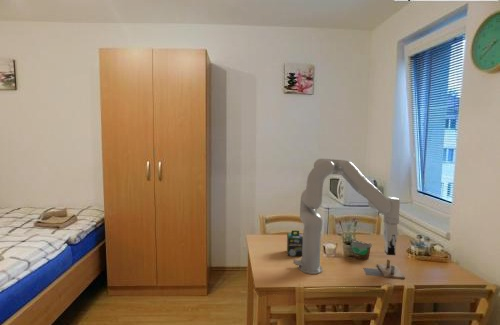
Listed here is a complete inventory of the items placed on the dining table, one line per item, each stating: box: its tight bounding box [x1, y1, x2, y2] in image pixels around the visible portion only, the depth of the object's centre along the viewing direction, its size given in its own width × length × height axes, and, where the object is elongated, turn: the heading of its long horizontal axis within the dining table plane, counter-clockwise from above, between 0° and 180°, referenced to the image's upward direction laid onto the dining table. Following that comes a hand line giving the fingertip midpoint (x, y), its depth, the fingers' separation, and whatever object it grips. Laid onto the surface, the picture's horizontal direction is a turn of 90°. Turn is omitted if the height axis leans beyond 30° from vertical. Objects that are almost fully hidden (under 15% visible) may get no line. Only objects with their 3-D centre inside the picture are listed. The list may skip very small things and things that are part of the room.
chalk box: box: [286, 230, 303, 258], centre depth 189 cm, size 9×9×15 cm
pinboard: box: [376, 259, 406, 280], centre depth 166 cm, size 10×15×5 cm, turn 171°
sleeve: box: [384, 239, 397, 256], centre depth 169 cm, size 4×4×7 cm
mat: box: [362, 267, 384, 277], centre depth 165 cm, size 9×9×1 cm
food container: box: [350, 239, 373, 261], centre depth 184 cm, size 12×6×10 cm, turn 47°
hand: (389, 252), depth 169 cm, fingers closed on sleeve, 4 cm apart
